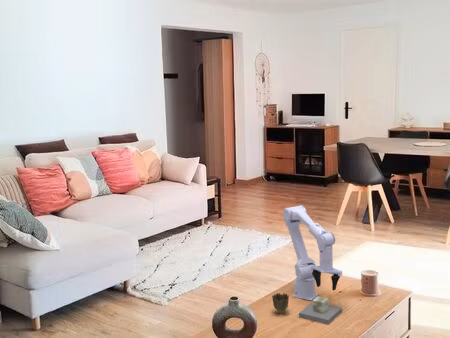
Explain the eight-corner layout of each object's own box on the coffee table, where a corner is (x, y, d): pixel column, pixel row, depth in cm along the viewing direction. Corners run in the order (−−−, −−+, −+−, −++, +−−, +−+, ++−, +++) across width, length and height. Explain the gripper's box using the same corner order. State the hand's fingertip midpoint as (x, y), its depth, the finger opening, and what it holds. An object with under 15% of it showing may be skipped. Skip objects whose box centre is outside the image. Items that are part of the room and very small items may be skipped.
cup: (290, 310, 236) (290, 293, 235) (287, 317, 229) (286, 299, 228) (274, 308, 239) (274, 292, 237) (271, 315, 232) (270, 298, 230)
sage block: (312, 311, 229) (312, 300, 229) (317, 306, 233) (317, 296, 233) (323, 313, 226) (323, 302, 226) (328, 309, 230) (327, 298, 230)
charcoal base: (298, 317, 229) (298, 312, 228) (313, 305, 240) (313, 301, 239) (328, 324, 220) (328, 319, 220) (341, 312, 232) (341, 307, 231)
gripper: (307, 259, 235) (307, 287, 237) (337, 264, 226) (337, 294, 228) (314, 254, 240) (315, 282, 242) (344, 260, 231) (344, 288, 234)
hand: (326, 288), depth 236 cm, fingers open, 7 cm apart
